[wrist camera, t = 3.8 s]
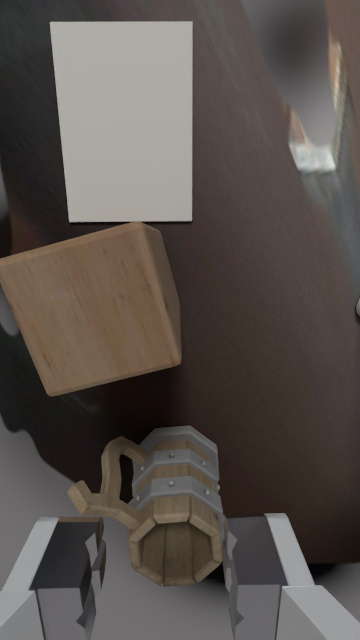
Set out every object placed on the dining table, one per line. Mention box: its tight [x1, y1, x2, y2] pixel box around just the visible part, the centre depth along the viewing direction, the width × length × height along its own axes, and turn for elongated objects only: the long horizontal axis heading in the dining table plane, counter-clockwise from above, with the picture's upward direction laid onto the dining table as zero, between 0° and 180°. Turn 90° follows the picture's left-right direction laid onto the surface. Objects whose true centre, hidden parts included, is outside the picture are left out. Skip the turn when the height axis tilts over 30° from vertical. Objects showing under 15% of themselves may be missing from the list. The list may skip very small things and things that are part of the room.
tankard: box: [67, 426, 224, 586], centre depth 38 cm, size 20×13×15 cm, turn 50°
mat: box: [50, 22, 192, 222], centre depth 34 cm, size 20×15×1 cm
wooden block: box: [0, 221, 182, 396], centre depth 29 cm, size 10×10×20 cm
